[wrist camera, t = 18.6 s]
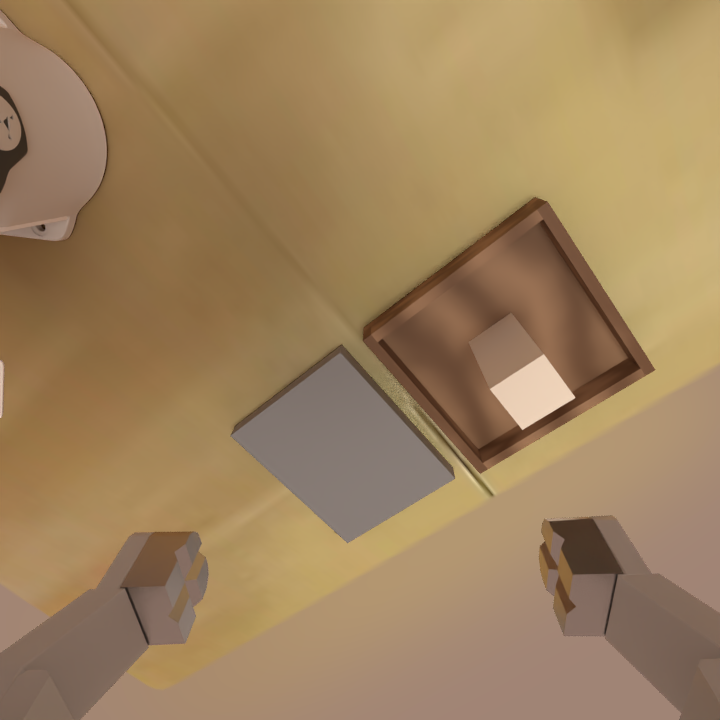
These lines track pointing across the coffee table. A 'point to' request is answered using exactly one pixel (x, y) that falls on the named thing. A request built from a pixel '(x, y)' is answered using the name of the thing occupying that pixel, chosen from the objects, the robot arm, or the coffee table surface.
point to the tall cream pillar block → (519, 372)
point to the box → (488, 306)
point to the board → (343, 447)
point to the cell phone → (1, 387)
